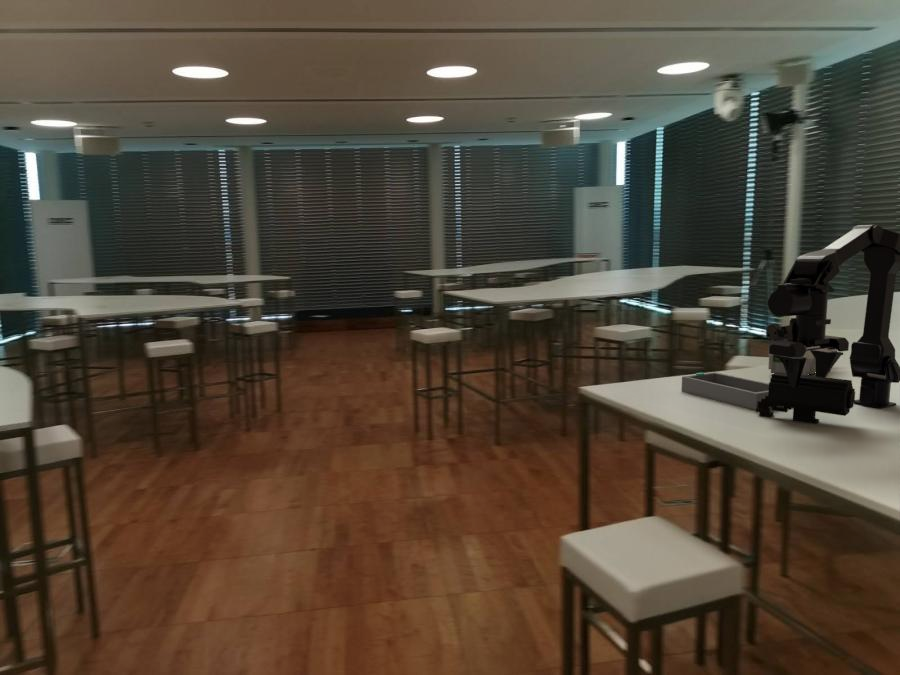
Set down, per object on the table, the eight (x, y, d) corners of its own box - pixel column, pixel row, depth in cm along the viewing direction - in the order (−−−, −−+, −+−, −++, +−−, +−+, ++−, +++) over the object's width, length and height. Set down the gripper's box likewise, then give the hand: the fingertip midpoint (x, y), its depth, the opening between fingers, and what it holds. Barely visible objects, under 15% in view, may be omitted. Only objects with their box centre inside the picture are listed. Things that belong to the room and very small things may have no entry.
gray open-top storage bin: (713, 386, 172) (714, 370, 172) (789, 404, 152) (790, 386, 151) (681, 391, 167) (682, 375, 167) (755, 410, 147) (756, 392, 146)
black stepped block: (762, 411, 146) (764, 369, 145) (854, 425, 133) (857, 379, 132) (752, 417, 141) (754, 373, 140) (846, 432, 129) (850, 385, 127)
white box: (759, 379, 180) (761, 345, 179) (786, 365, 201) (788, 334, 200) (805, 385, 173) (807, 349, 171) (828, 369, 193) (830, 337, 192)
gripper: (804, 308, 145) (800, 374, 147) (748, 313, 137) (744, 382, 139) (852, 312, 135) (847, 383, 137) (795, 318, 127) (790, 392, 129)
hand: (806, 385), depth 136 cm, fingers open, 8 cm apart
